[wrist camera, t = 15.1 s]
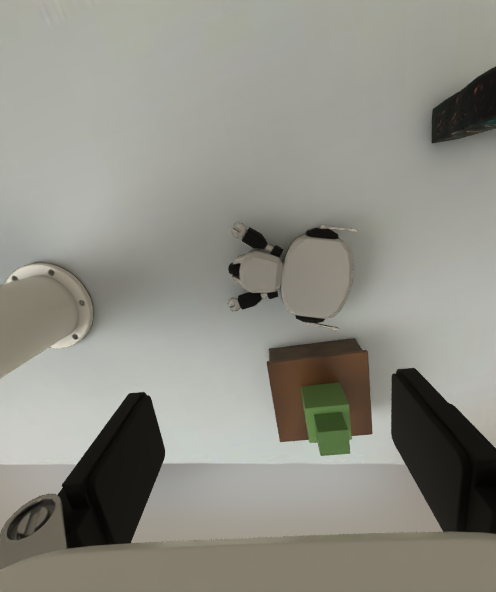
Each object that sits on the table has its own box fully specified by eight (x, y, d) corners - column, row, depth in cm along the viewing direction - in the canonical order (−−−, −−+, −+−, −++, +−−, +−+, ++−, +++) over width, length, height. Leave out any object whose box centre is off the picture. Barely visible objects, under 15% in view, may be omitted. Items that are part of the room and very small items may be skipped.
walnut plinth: (278, 419, 44) (280, 442, 40) (266, 347, 41) (266, 363, 37) (362, 411, 43) (372, 434, 39) (356, 336, 39) (367, 351, 35)
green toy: (304, 417, 39) (313, 463, 32) (300, 386, 37) (308, 426, 30) (342, 414, 38) (359, 459, 31) (339, 382, 37) (356, 422, 30)
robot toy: (230, 306, 40) (338, 319, 39) (222, 318, 36) (344, 333, 34) (235, 217, 37) (355, 227, 35) (228, 217, 32) (364, 229, 31)
